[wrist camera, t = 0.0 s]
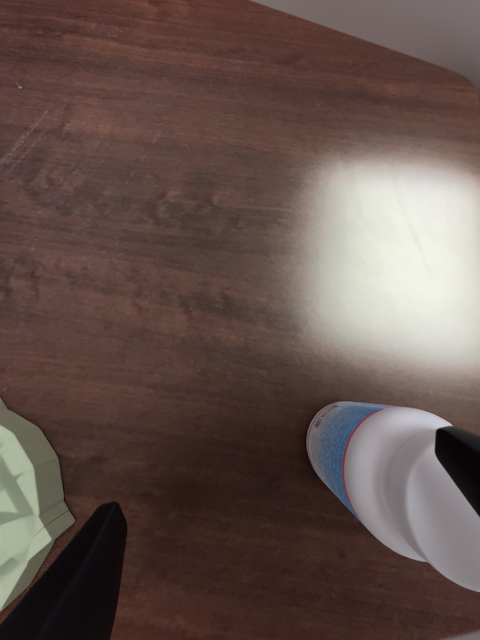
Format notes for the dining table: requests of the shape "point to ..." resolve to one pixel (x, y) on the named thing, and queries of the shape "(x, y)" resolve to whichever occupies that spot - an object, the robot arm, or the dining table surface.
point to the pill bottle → (397, 484)
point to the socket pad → (27, 503)
